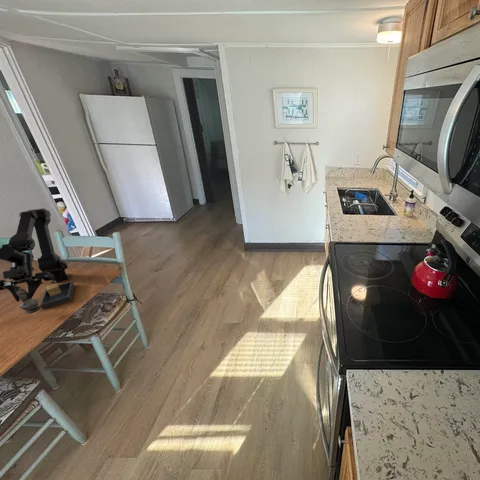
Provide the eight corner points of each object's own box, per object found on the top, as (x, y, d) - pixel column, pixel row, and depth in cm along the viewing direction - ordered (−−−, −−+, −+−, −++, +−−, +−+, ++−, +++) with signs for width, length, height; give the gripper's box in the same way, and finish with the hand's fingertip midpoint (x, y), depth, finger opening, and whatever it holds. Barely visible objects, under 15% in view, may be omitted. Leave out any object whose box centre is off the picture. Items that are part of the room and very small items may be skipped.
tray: (49, 292, 134) (46, 288, 132) (74, 286, 139) (72, 281, 137) (43, 309, 123) (39, 304, 121) (71, 301, 128) (68, 296, 126)
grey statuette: (30, 315, 114) (15, 293, 108) (20, 313, 115) (4, 291, 110) (45, 306, 119) (32, 284, 114) (35, 304, 120) (21, 283, 115)
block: (50, 292, 133) (46, 286, 131) (60, 289, 135) (57, 283, 134) (50, 296, 130) (46, 290, 128) (61, 292, 133) (57, 286, 131)
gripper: (-23, 266, 106) (-23, 304, 102) (38, 255, 113) (40, 291, 109) (-2, 272, 116) (-1, 307, 112) (53, 262, 123) (56, 295, 119)
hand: (23, 300), depth 113 cm, fingers closed on grey statuette, 3 cm apart
